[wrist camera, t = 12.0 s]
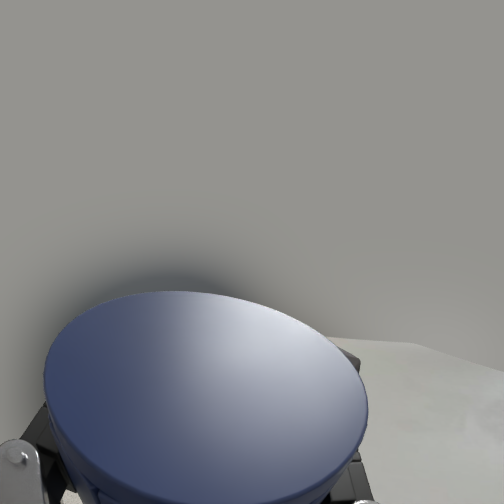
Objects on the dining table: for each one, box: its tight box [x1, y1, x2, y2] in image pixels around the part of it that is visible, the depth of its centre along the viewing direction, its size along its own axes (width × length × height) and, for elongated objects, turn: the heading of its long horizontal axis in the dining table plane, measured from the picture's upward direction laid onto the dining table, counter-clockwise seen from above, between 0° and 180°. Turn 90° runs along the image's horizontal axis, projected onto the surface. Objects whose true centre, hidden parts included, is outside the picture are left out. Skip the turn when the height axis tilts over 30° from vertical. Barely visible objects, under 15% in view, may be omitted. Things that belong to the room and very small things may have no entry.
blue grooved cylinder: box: [43, 291, 368, 504], centre depth 7 cm, size 6×6×10 cm
